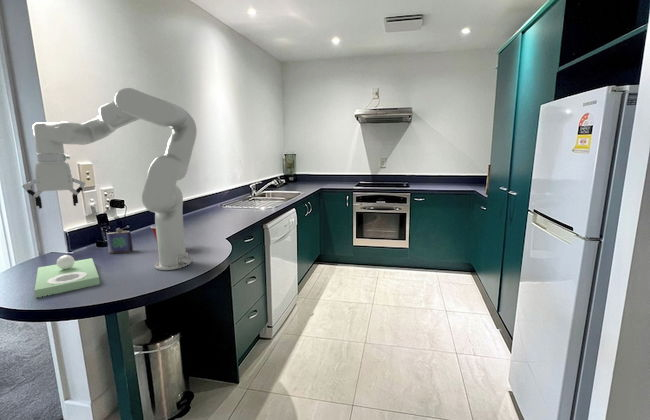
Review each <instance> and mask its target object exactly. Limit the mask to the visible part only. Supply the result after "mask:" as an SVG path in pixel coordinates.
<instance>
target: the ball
mask: <svg viewBox="0 0 650 420" xmlns="http://www.w3.org/2000/svg"><path fill="white" fill-rule="evenodd" d="M75 261H76V260H75V259H74V257H73V256H72V255H69V254H65V255H61V256H59V258H57V260H56V264H57V266H58V267H59V268H60V269H69V268H71V267H72V266H73V265H74V263H75Z"/></svg>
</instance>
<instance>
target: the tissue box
mask: <svg viewBox="0 0 650 420" xmlns="http://www.w3.org/2000/svg"><path fill="white" fill-rule="evenodd" d="M99 285H101V281H100V275H99V274H98V270H97V267H96V265H95V262H94V260H93V258H92V257H91V258H86V259H85V258H84V259H78V260H75V263H74V265H73V266H72V267H71V268H69V269H60V268H59V267H58V266H57V263H56V264H52V265H51V264H50V265H46V266H38V267H37V272H36V280H35V286H34V294H35V295H34V296H35V298H36V299H38V298H37V297H39V298H43V297H48V296H53V295H56V294H61V293H65V292H66V293H67V292H70V291H75V290H79V289H84V288H89V287H93V286H99ZM52 294H53V295H52ZM47 295H48V296H47ZM42 296H43V297H42Z"/></svg>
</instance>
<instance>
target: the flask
mask: <svg viewBox="0 0 650 420" xmlns="http://www.w3.org/2000/svg"><path fill="white" fill-rule="evenodd" d="M105 235H106V242H107V247H108V248H107V250H108V253H109V254H120V253H131V252H133V251H134V249H133V242H132V234H131V231H130V230H121V227H118V228H116V229H115V232H114V231H113V232H107V233H106V234H105Z"/></svg>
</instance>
